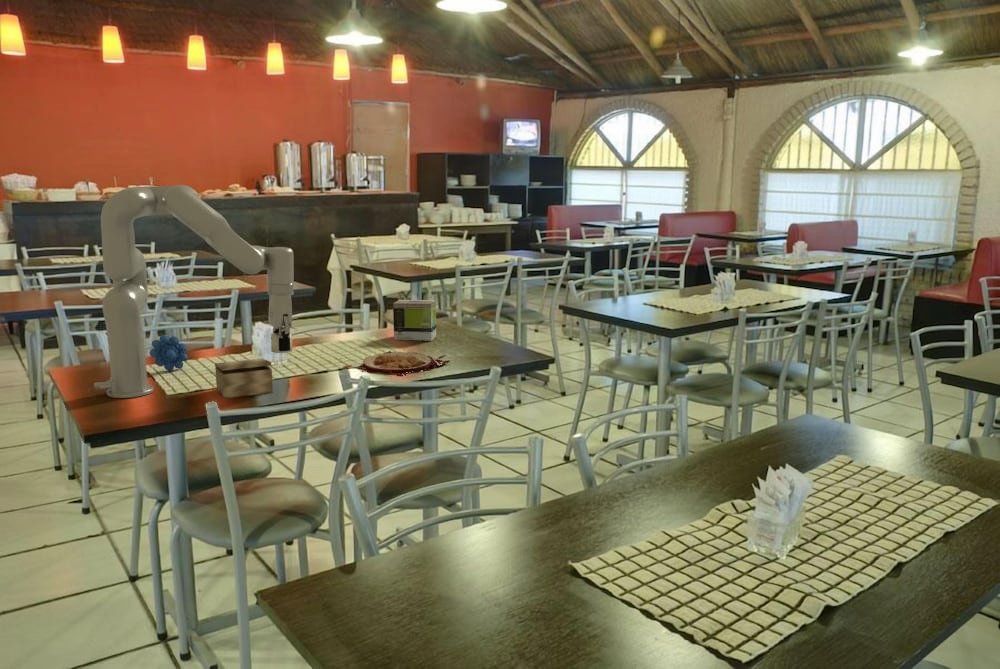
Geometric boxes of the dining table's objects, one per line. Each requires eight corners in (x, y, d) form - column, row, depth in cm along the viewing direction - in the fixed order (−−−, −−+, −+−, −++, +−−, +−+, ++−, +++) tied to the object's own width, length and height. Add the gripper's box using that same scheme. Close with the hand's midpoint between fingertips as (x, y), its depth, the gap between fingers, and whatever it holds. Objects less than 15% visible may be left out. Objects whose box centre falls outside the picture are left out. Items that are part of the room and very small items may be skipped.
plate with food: (390, 356, 292) (389, 346, 291) (450, 364, 278) (449, 354, 277) (342, 371, 272) (341, 361, 271) (404, 380, 258) (403, 369, 257)
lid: (222, 370, 233) (221, 367, 233) (215, 365, 243) (215, 363, 243) (271, 365, 240) (271, 362, 240) (262, 360, 250) (262, 358, 249)
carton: (223, 398, 235) (222, 374, 234) (216, 389, 244) (215, 366, 243) (272, 392, 242) (271, 369, 240) (264, 383, 251) (262, 361, 250)
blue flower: (154, 375, 259) (151, 338, 257) (149, 371, 265) (146, 335, 263) (192, 371, 266) (189, 334, 263) (187, 366, 271) (184, 331, 269)
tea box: (436, 336, 323) (436, 299, 320) (431, 341, 313) (431, 303, 310) (399, 335, 325) (399, 298, 322) (393, 340, 315) (392, 302, 312)
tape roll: (274, 353, 241) (273, 336, 240) (269, 349, 247) (268, 332, 246) (294, 352, 244) (294, 335, 243) (289, 348, 249) (288, 331, 248)
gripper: (261, 285, 247) (262, 343, 251) (275, 294, 233) (276, 355, 236) (285, 284, 251) (286, 342, 254) (301, 293, 236) (301, 353, 240)
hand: (281, 348), depth 245 cm, fingers closed on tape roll, 5 cm apart
